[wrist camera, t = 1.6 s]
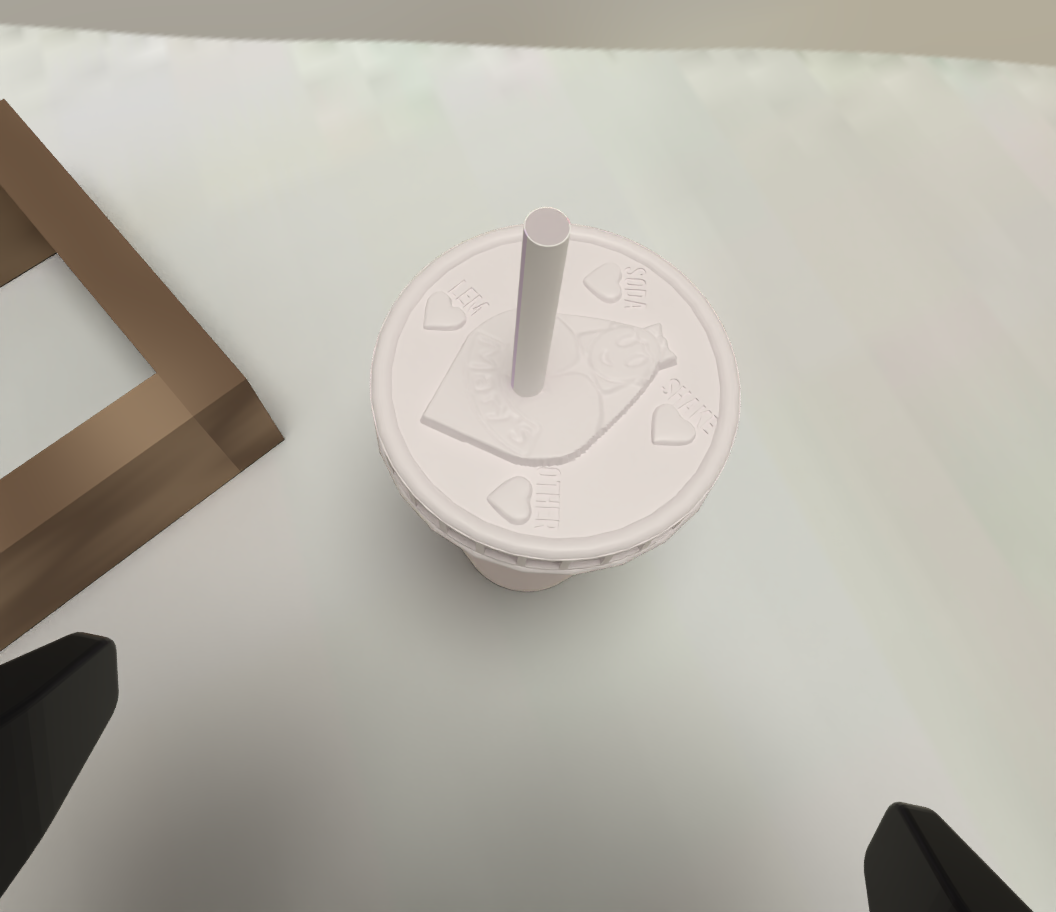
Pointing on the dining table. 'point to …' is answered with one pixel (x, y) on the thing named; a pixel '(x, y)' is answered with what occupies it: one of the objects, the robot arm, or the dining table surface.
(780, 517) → the dining table surface
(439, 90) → the dining table surface
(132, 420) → the socket block
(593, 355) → the smoothie
